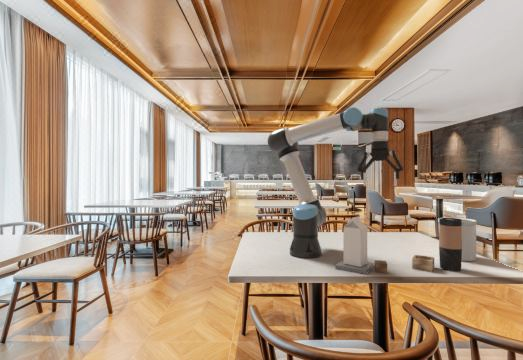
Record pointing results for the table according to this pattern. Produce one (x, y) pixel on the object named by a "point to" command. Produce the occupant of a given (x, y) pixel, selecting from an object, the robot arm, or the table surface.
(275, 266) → the table surface
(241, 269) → the table surface
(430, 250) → the table surface
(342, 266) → the slate board
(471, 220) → the utensil holder
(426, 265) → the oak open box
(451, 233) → the travel mug
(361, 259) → the milk carton
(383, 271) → the walnut block
